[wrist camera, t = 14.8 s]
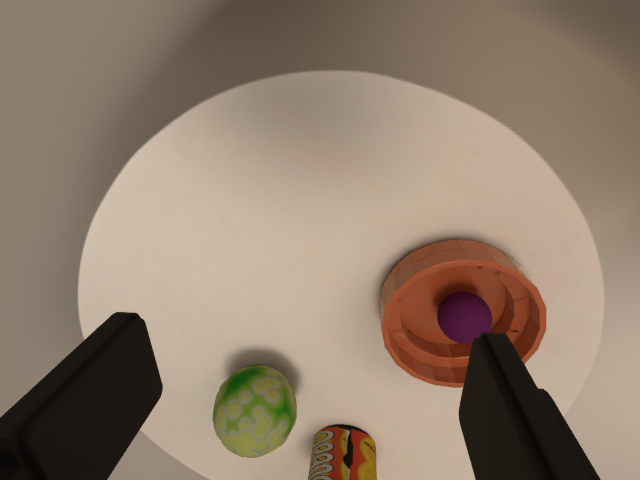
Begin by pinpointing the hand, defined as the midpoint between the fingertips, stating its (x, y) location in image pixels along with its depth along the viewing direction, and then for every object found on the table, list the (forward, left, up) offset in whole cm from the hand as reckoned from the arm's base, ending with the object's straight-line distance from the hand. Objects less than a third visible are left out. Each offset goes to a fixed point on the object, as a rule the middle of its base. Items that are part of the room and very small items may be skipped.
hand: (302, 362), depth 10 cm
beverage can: (+38, +14, -26) cm, 48 cm away
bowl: (+10, +16, -26) cm, 32 cm away
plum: (+10, +16, -26) cm, 32 cm away
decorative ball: (+30, 0, -26) cm, 40 cm away
